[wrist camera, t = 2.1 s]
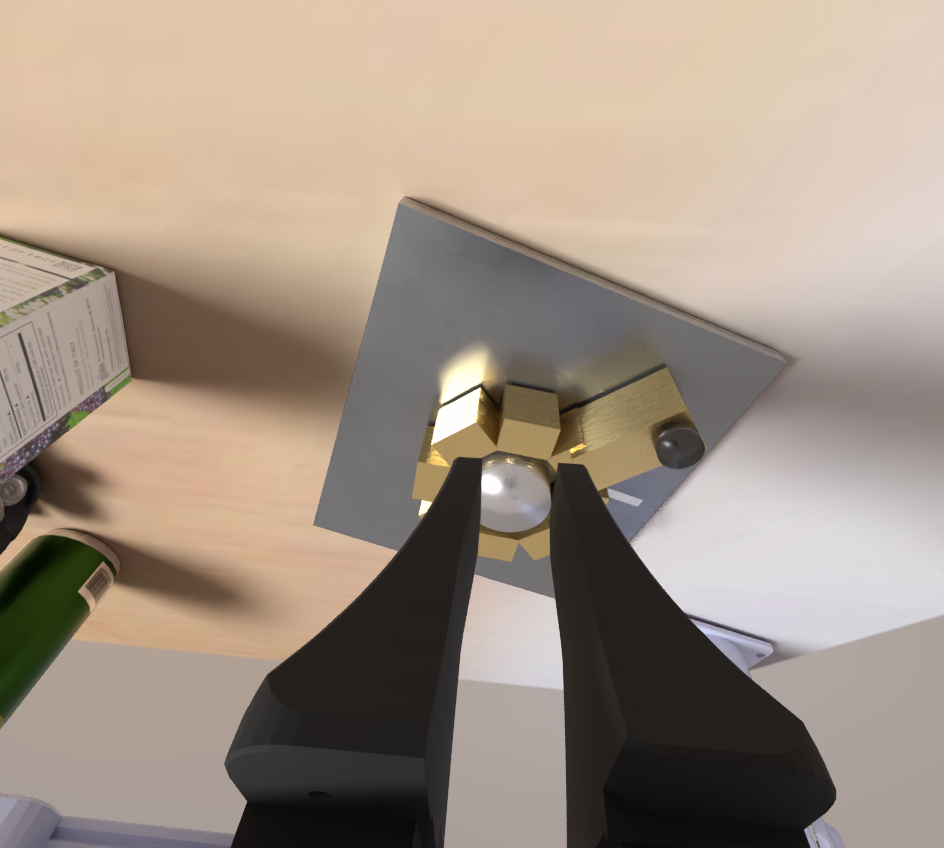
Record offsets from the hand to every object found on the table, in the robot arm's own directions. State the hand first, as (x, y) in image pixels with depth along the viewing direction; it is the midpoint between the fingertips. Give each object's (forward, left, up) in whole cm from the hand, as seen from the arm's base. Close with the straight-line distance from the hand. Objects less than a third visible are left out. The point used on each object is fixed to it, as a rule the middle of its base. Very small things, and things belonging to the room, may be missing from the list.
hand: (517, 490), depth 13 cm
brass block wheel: (-4, -3, -9) cm, 10 cm away
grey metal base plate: (-6, -2, -10) cm, 12 cm away
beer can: (-26, +20, -10) cm, 34 cm away
